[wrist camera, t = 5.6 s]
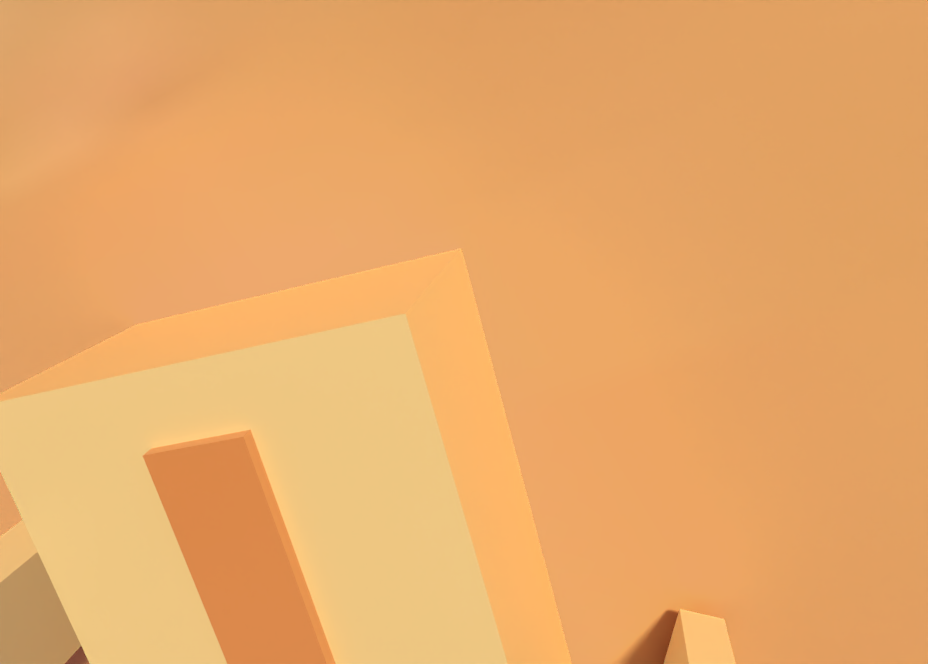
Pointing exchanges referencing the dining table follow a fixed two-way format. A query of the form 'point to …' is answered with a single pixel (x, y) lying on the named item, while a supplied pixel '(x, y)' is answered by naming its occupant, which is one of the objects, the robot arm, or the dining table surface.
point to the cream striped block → (288, 483)
